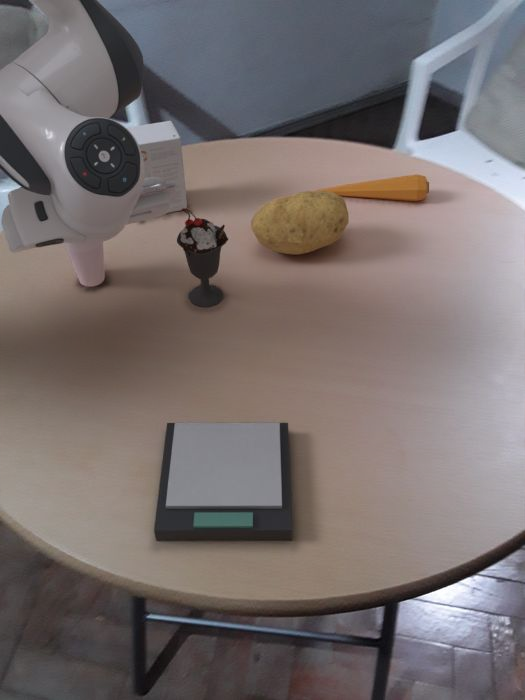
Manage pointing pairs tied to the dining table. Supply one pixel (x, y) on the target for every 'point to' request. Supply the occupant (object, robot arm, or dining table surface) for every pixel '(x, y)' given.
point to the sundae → (203, 257)
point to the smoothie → (87, 262)
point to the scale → (225, 483)
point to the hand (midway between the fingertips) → (85, 228)
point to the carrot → (387, 188)
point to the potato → (301, 222)
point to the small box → (163, 157)
